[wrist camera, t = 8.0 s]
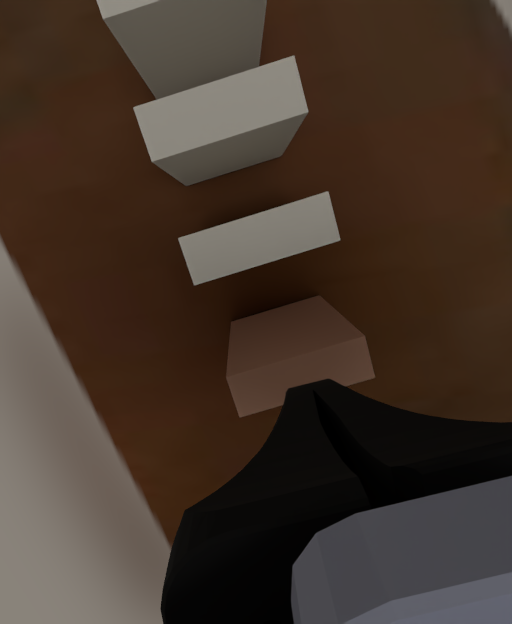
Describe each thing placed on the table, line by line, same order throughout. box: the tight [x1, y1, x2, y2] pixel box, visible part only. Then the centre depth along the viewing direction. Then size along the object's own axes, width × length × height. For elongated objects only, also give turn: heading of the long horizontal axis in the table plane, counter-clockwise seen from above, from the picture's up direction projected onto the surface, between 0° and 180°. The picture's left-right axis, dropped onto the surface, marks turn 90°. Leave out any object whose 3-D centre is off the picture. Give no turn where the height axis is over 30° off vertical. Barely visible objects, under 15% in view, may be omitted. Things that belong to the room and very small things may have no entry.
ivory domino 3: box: [178, 191, 340, 285], centre depth 17 cm, size 2×5×8 cm, turn 106°
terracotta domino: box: [226, 295, 375, 417], centre depth 18 cm, size 2×5×8 cm, turn 106°
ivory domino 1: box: [97, 0, 267, 100], centre depth 15 cm, size 2×5×8 cm, turn 107°
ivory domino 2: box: [133, 56, 308, 186], centre depth 16 cm, size 2×5×8 cm, turn 107°
